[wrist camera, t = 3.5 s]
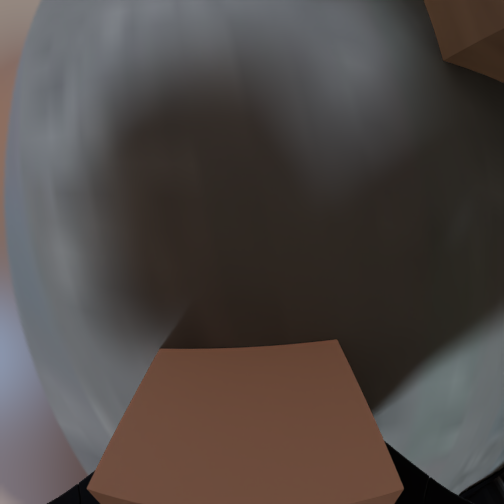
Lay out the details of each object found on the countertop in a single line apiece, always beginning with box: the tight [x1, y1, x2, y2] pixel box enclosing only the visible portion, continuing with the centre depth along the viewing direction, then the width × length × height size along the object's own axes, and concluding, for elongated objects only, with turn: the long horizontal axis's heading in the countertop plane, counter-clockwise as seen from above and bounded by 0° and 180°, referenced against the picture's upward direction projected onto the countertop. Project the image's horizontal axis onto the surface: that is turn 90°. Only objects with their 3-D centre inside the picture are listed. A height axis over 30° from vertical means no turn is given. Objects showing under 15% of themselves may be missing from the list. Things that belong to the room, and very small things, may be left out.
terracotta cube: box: [87, 339, 404, 504], centre depth 6 cm, size 5×5×5 cm
